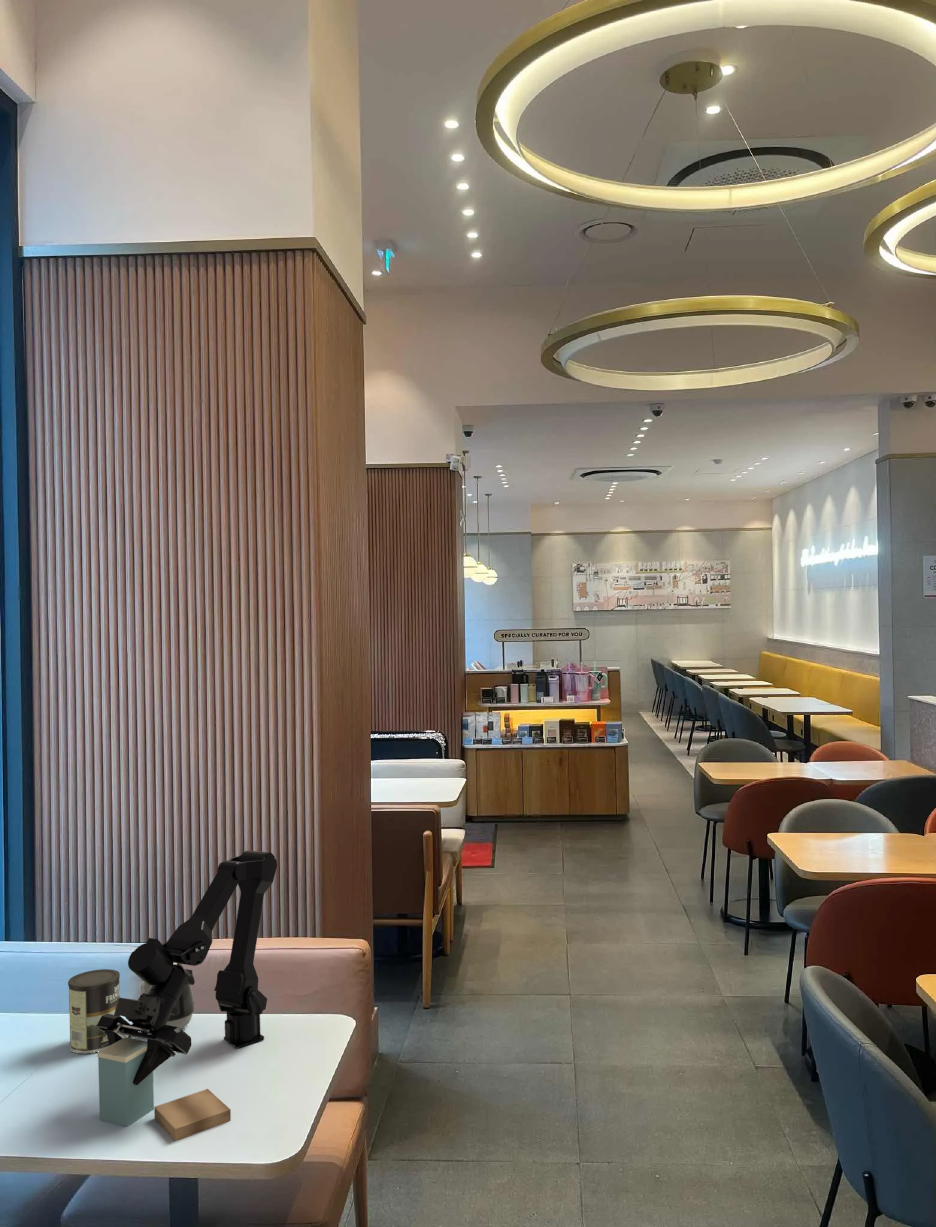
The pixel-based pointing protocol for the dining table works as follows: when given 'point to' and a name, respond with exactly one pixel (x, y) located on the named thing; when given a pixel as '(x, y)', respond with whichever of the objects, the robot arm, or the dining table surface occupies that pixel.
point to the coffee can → (91, 1008)
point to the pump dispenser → (182, 1008)
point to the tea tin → (123, 1083)
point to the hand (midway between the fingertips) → (120, 1081)
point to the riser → (192, 1114)
